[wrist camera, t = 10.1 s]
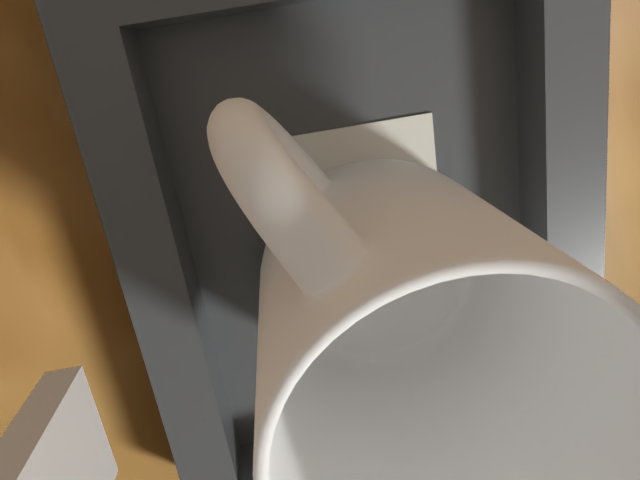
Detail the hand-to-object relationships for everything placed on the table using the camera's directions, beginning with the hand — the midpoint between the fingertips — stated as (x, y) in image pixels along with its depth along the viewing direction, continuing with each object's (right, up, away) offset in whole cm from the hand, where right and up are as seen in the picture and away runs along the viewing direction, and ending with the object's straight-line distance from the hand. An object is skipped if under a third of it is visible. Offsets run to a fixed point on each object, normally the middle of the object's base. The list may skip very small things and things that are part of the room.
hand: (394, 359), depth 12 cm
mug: (-1, +3, +7) cm, 8 cm away
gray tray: (0, +3, +9) cm, 9 cm away
